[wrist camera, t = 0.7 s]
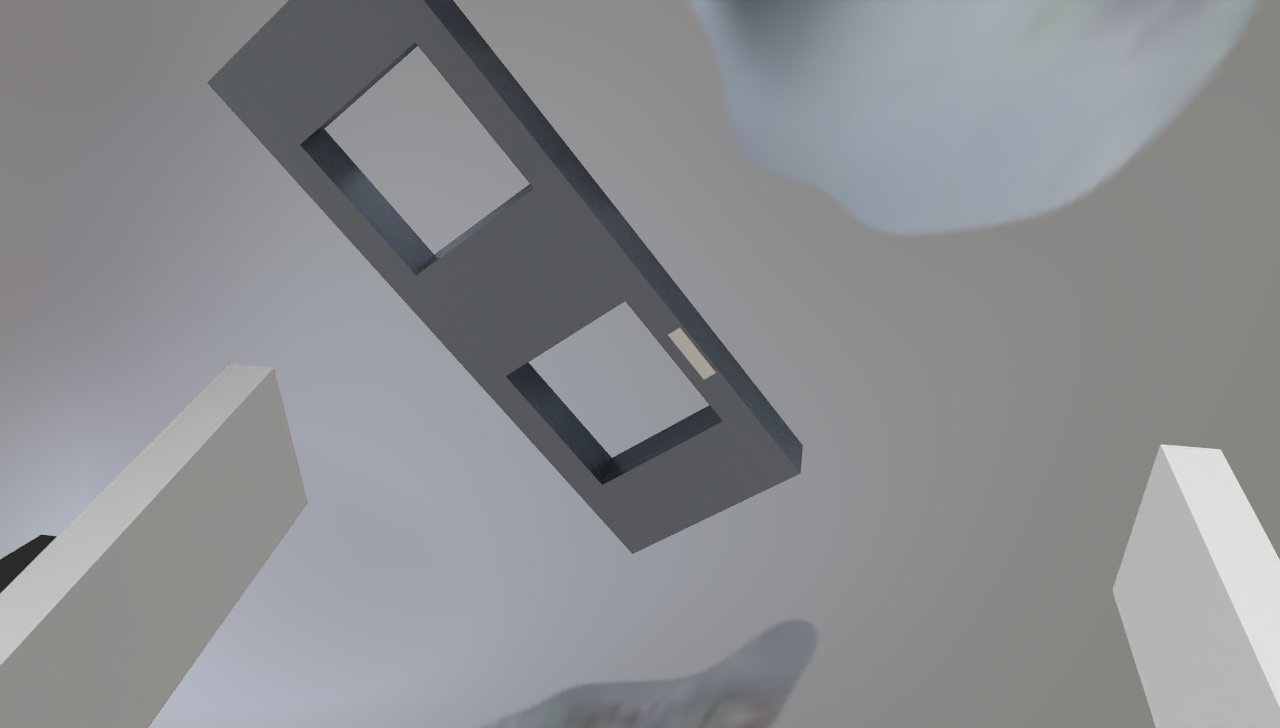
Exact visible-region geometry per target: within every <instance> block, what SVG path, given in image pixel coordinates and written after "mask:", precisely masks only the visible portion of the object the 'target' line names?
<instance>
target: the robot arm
mask: <svg viewBox="0 0 1280 728" xmlns="http://www.w3.org/2000/svg"><path fill="white" fill-rule="evenodd" d="M307 503H308V502H307V498H306V494H305V491H304V487H303V483H302V478H301V474H300V470H299V466H298V463H297V459H296V455H295V451H294V447H293V443H292V439H291V435H290V431H289V427H288V423H287V419H286V415H285V411H284V407H283V403H282V399H281V395H280V391H279V387H278V383H277V379H276V375H275V371H274V368H270V367H259V366H248V365H236V364H229V365H228V366H227V367H226V368H225V369H224V370H223V371H222V372H221V373H220V374H219V375H218V376H217V377H216V378H215V379H214V380H213V381H212V382H211V383H210V384H209V385H208V386H207V387H206V388H205V389H204V390H203V391H202V392H201V393H200V394H199V395H198V396H197V397H196V398H195V399H194V400H193V401H192V402H191V403H190V404H189V405H188V406H187V407H186V408H185V409H184V410H183V411H182V412H181V413H180V414H179V415H178V416H177V417H176V418H175V419H174V420H173V421H172V422H171V423H170V424H169V425H168V426H167V427H166V428H165V429H164V430H163V431H162V432H161V433H160V434H159V435H158V436H157V437H156V438H155V439H154V440H153V441H152V442H151V443H150V444H149V445H148V446H147V447H146V448H145V449H144V450H143V451H142V452H141V453H140V454H139V455H138V456H137V457H136V458H135V459H134V460H133V461H132V462H131V463H130V464H129V465H128V466H127V467H126V468H125V469H124V470H123V471H122V472H121V473H120V474H119V475H118V476H117V477H116V478H115V479H114V480H113V481H112V482H111V483H110V484H109V485H108V486H107V487H106V488H105V489H104V490H103V491H102V492H101V493H100V494H99V495H98V496H97V497H96V498H95V499H94V500H93V501H92V502H91V503H90V504H89V505H88V506H87V507H86V508H85V509H84V510H83V511H82V512H81V513H80V514H79V515H78V516H77V517H76V518H75V519H74V520H73V521H72V522H71V523H70V524H69V525H68V526H67V527H66V528H65V529H64V530H63V531H62V532H61V533H60V534H59V535H58V536H47V535H40V536H39V537H37V538H35V539H34V540H32V541H30V542H29V543H27V544H25V545H24V546H22V547H20V548H19V549H17V550H15V551H14V552H12V553H10V554H9V555H7V556H5V557H4V558H2V559H1V560H0V728H148V727H149V726H150V724H151V723H152V721H153V720H154V719H155V717H156V716H157V714H158V713H159V711H160V710H161V708H162V707H163V706H164V704H165V703H166V701H167V700H168V699H169V697H170V696H171V695H172V693H173V691H174V690H175V689H176V687H177V686H178V684H179V683H180V682H181V680H182V679H183V677H184V676H185V675H186V673H187V672H188V671H189V669H190V668H191V666H192V665H193V664H194V662H195V661H196V659H197V658H198V657H199V655H200V654H201V652H202V651H203V649H204V648H205V647H206V645H207V644H208V642H209V641H210V640H211V638H212V637H213V635H214V633H215V632H216V631H217V630H218V628H219V627H220V625H221V624H222V623H223V621H224V620H225V618H226V617H227V615H228V614H229V613H230V611H231V610H232V609H233V607H234V606H235V604H236V603H237V602H238V600H239V599H240V597H241V596H242V595H243V593H244V592H245V590H246V589H247V587H248V586H249V585H250V583H251V581H252V580H253V579H254V577H255V576H256V575H257V573H258V572H259V570H260V569H261V567H262V566H263V565H264V563H265V562H266V561H267V559H268V558H269V556H270V555H271V553H272V552H273V551H274V549H275V548H276V547H277V545H278V544H279V542H280V541H281V540H282V538H283V537H284V535H285V534H286V533H287V531H288V530H289V528H290V527H291V525H292V524H293V523H294V521H295V520H296V518H297V517H298V516H299V514H300V512H301V511H302V510H303V509H304V507H305V506H306V504H307ZM1112 591H1113V594H1114V597H1115V600H1116V603H1117V606H1118V610H1119V612H1120V616H1121V619H1122V622H1123V625H1124V628H1125V631H1126V635H1127V638H1128V641H1129V644H1130V647H1131V650H1132V653H1133V657H1134V660H1135V663H1136V666H1137V669H1138V673H1139V676H1140V679H1141V682H1142V685H1143V688H1144V691H1145V695H1146V698H1147V701H1148V704H1149V707H1150V710H1151V714H1152V717H1153V720H1154V723H1155V726H1156V728H1280V560H1279V558H1278V556H1277V554H1276V552H1275V550H1274V549H1273V547H1272V545H1271V543H1270V541H1269V539H1268V537H1267V535H1266V534H1265V532H1264V530H1263V528H1262V526H1261V524H1260V523H1259V520H1258V519H1257V517H1256V515H1255V513H1254V511H1253V509H1252V508H1251V506H1250V504H1249V502H1248V500H1247V498H1246V496H1245V494H1244V492H1243V491H1242V489H1241V487H1240V485H1239V483H1238V481H1237V480H1236V478H1235V476H1234V474H1233V472H1232V470H1231V468H1230V466H1229V465H1228V463H1227V461H1226V459H1225V457H1224V455H1223V453H1222V451H1221V450H1218V449H1207V448H1196V447H1184V446H1173V445H1172V446H1171V445H1160V448H1159V451H1158V454H1157V457H1156V460H1155V463H1154V466H1153V469H1152V472H1151V475H1150V478H1149V481H1148V484H1147V488H1146V490H1145V493H1144V496H1143V499H1142V503H1141V506H1140V509H1139V511H1138V514H1137V517H1136V520H1135V523H1134V526H1133V530H1132V533H1131V536H1130V539H1129V542H1128V545H1127V548H1126V551H1125V554H1124V557H1123V560H1122V563H1121V566H1120V569H1119V572H1118V575H1117V578H1116V581H1115V584H1114V587H1113V590H1112Z"/></svg>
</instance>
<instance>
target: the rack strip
mask: <svg viewBox="0 0 1280 728" xmlns="http://www.w3.org/2000/svg"><path fill="white" fill-rule="evenodd" d="M417 46H419V47H420V49H421V50H422V51H423V52H424V53H425V55H426V56H427V57H428V58H429V60H430V61H431V62H432V63H433V65H434V66H435V67H436V68H437V69H438V71H439V72H440V73H441V74H442V76H443V77H444V78H445V79H446V81H447V82H448V83H449V84H450V86H451V87H452V88H453V89H454V91H455V92H456V93H457V94H458V95H459V97H460V98H461V99H462V100H463V102H464V103H465V104H466V105H467V106H468V108H469V109H470V110H471V111H472V113H473V114H474V115H475V116H476V118H477V119H478V120H479V121H480V123H481V124H482V125H483V126H484V127H485V129H486V130H487V131H488V132H489V134H490V135H491V136H492V137H493V139H494V140H495V141H496V142H497V143H498V145H499V146H500V147H501V148H502V150H503V151H504V152H505V153H506V154H507V156H508V157H509V158H510V159H511V161H512V162H513V163H514V164H515V166H516V167H517V168H518V169H519V171H520V172H521V173H522V174H523V176H524V177H525V178H526V179H527V180H528V182H529V183H530V184H529V185H528V186H527V187H525V188H524V189H523V190H521V191H520V192H519V193H517V194H516V195H515V196H514V197H512V198H511V199H510V200H508V201H507V202H505V203H504V204H502V205H501V206H500V207H498V208H497V209H496V210H494V211H493V212H492V213H490V214H489V215H488V216H487V217H485V218H484V219H482V220H481V221H479V222H478V223H477V224H475V225H474V226H473V227H471V228H470V229H469V230H467V231H466V232H465V233H463V234H462V235H461V236H459V237H458V238H457V239H455V240H454V241H452V242H451V243H450V244H448V245H447V246H446V247H444V248H443V249H442V250H440V251H439V252H438V253H436V254H435V255H434V254H433V253H432V252H431V251H430V250H429V248H428V247H427V246H426V245H425V244H424V243H423V242H422V240H421V239H420V238H419V237H418V236H417V235H416V233H415V232H414V231H413V230H412V229H411V228H410V227H409V225H408V224H407V223H406V222H405V221H404V220H403V219H402V217H401V216H400V215H399V214H398V213H397V212H396V211H395V209H394V208H393V207H392V206H391V205H390V204H389V203H388V202H387V200H386V199H384V197H383V196H382V195H381V194H380V192H379V191H378V190H377V189H376V188H375V187H374V186H373V184H372V183H371V182H370V181H369V180H368V179H367V178H366V176H365V175H364V174H363V173H362V172H361V171H360V170H359V168H358V167H357V166H356V165H355V164H354V163H353V161H352V160H351V159H350V158H349V157H348V156H347V155H346V153H345V152H344V151H343V150H342V149H341V148H340V147H339V146H338V144H337V143H336V142H335V141H334V140H333V139H332V137H331V136H330V135H329V134H328V133H327V132H326V131H325V129H324V128H326V127H327V126H328V125H329V124H330V123H331V122H332V121H333V120H335V119H336V118H337V117H338V116H339V115H340V114H341V113H342V112H344V111H345V110H346V109H347V108H348V107H349V106H350V105H351V104H352V103H354V102H355V101H356V100H357V99H358V98H359V97H360V96H362V95H363V94H364V93H365V92H366V91H367V90H368V89H369V88H370V87H372V86H373V85H374V84H375V83H376V82H377V81H378V80H380V79H381V78H382V77H383V76H384V75H385V74H386V73H387V72H389V71H390V70H391V69H392V68H393V67H394V66H395V65H396V64H398V63H399V62H400V61H401V60H402V59H403V58H404V57H405V56H407V55H408V54H409V53H410V52H411V51H412V50H413V49H414V48H415V47H417ZM208 84H209V85H210V86H211V87H212V88H213V90H214V91H215V92H216V93H217V94H218V95H219V96H220V97H221V98H222V100H223V101H224V102H225V103H226V104H227V105H228V106H229V107H230V108H231V109H232V111H233V112H234V113H235V114H236V115H237V116H238V117H239V118H240V119H241V121H242V122H243V123H244V124H245V125H246V126H247V127H248V128H249V129H250V130H251V132H252V133H253V134H254V135H255V136H256V137H257V138H258V139H259V140H260V141H261V143H262V144H263V145H264V146H265V147H266V148H267V149H268V150H269V152H270V153H271V154H272V155H273V156H274V157H275V158H276V159H277V160H278V162H279V163H280V164H281V165H282V166H283V167H284V168H285V169H286V170H287V171H288V173H289V174H290V175H291V176H292V177H293V178H294V179H295V180H296V181H297V183H298V184H299V185H300V186H301V187H302V188H303V189H304V190H305V191H306V193H307V194H308V195H309V196H310V197H311V198H312V199H313V200H314V201H315V203H317V205H318V206H319V207H320V208H321V209H322V210H323V211H324V212H325V214H326V215H327V216H328V217H329V218H330V219H331V220H332V221H333V222H334V224H336V226H337V227H338V228H339V229H340V230H341V231H342V232H343V234H344V235H345V236H346V237H347V238H348V239H349V240H350V241H351V242H352V244H353V245H354V246H355V247H356V248H357V249H358V250H359V251H360V252H361V253H362V255H363V256H364V257H365V258H366V259H367V260H368V261H369V262H370V263H371V264H372V266H373V267H374V268H375V269H376V270H377V271H378V272H379V273H380V274H381V276H382V277H383V278H384V279H385V280H386V281H387V282H388V283H389V284H390V285H391V287H392V288H393V289H394V290H395V291H396V292H397V293H398V294H399V296H400V297H401V298H402V299H403V300H404V301H405V302H406V303H407V304H408V306H409V307H410V308H411V309H412V310H413V311H414V312H415V313H416V314H417V315H418V317H419V318H420V319H421V320H422V321H423V322H424V323H425V324H426V325H427V327H428V328H429V329H430V330H431V331H432V332H433V333H434V334H435V335H436V337H437V338H438V339H439V340H440V341H441V342H442V343H443V344H444V345H445V347H446V348H447V349H448V350H449V351H450V352H451V353H452V354H453V355H454V356H455V358H456V359H457V360H458V361H459V362H460V363H461V364H462V365H463V366H464V367H465V368H466V370H467V371H468V372H469V373H470V374H471V375H472V376H473V377H474V379H475V380H476V381H477V382H478V383H479V384H480V385H481V386H482V387H483V389H484V390H485V391H486V392H487V393H488V394H489V395H490V396H491V397H492V399H494V401H495V402H496V403H497V404H498V405H499V406H500V407H501V408H502V409H503V411H504V412H505V413H506V414H507V415H508V416H509V417H510V418H511V420H512V421H513V422H514V423H515V424H516V425H517V426H518V427H519V428H520V430H521V431H522V432H523V433H524V434H525V435H526V436H527V437H528V438H529V440H530V441H531V442H532V443H533V444H534V445H535V446H536V447H537V448H538V450H539V451H540V452H541V453H542V454H543V455H544V456H545V457H546V458H547V459H548V460H549V462H550V463H551V464H552V465H553V466H554V467H555V468H556V469H557V471H558V472H559V473H560V474H561V475H562V476H563V477H564V478H565V479H566V481H567V482H568V483H569V484H570V485H571V486H572V487H573V488H574V489H575V490H576V492H577V493H578V494H579V495H580V496H581V497H582V498H583V499H584V500H585V502H587V504H588V505H589V506H590V507H591V508H592V509H593V510H594V511H595V513H596V514H597V515H598V516H599V517H600V518H601V519H602V520H603V521H604V523H605V524H606V525H607V526H608V527H609V528H610V529H611V530H612V531H613V532H614V533H615V535H616V536H617V537H618V538H619V539H620V540H621V541H622V543H623V544H624V545H625V546H626V547H627V548H628V549H629V550H630V551H631V552H632V553H635V552H637V551H639V550H641V549H643V548H645V547H648V546H650V545H652V544H654V543H656V542H658V541H660V540H662V539H664V538H666V537H668V536H671V535H673V534H675V533H677V532H679V531H681V530H683V529H685V528H687V527H689V526H691V525H694V524H696V523H698V522H700V521H702V520H704V519H706V518H708V517H710V516H712V515H714V514H716V513H718V512H721V511H723V510H725V509H727V508H729V507H731V506H733V505H735V504H737V503H739V502H742V501H744V500H746V499H748V498H750V497H752V496H754V495H756V494H758V493H760V492H762V491H765V490H767V489H769V488H771V487H773V486H775V485H777V484H779V483H781V482H783V481H785V480H787V479H790V478H792V477H794V476H796V475H798V474H800V471H801V458H802V444H801V443H800V442H799V440H798V439H797V438H796V436H795V435H794V434H793V433H792V431H791V430H790V429H789V428H788V426H787V425H786V424H785V422H784V421H783V420H782V419H781V417H780V416H779V415H778V414H777V412H776V411H775V410H774V408H773V407H772V406H771V405H770V403H769V402H768V401H767V399H766V398H765V397H764V396H763V394H762V393H761V392H760V391H759V389H758V388H757V387H756V385H755V384H754V383H753V382H752V380H751V379H750V378H749V377H748V375H747V374H746V373H745V372H744V370H743V369H742V368H741V366H740V365H739V364H738V363H737V361H736V360H735V359H734V358H733V356H732V355H731V354H730V353H729V351H728V350H727V349H726V347H725V346H724V345H723V343H722V342H721V341H720V340H719V338H718V337H717V336H716V335H715V333H714V332H713V331H712V330H711V328H710V327H709V326H708V325H707V323H706V322H705V321H704V319H703V318H702V317H701V316H700V314H699V313H698V312H697V310H696V309H695V308H694V307H693V305H692V304H691V303H690V301H689V300H688V299H687V298H686V296H685V295H684V294H683V293H682V291H681V290H680V289H679V288H678V286H677V285H676V284H675V282H674V281H673V280H672V279H671V277H670V276H669V275H668V273H667V272H666V271H665V270H664V268H663V267H662V266H661V265H660V263H659V262H658V261H657V259H656V258H655V257H654V256H653V254H652V253H651V252H650V250H649V249H648V248H647V247H646V245H645V244H644V243H643V242H642V240H641V239H640V238H639V236H638V235H637V234H636V233H635V231H634V230H633V229H632V228H631V226H630V225H629V224H628V223H627V221H626V220H625V219H624V218H623V216H622V215H621V214H620V212H619V211H618V210H617V208H616V207H615V206H614V205H613V203H612V202H611V201H610V200H609V198H608V197H607V196H606V195H605V193H604V192H603V191H602V189H601V188H600V187H599V186H598V184H597V183H596V182H595V180H594V179H593V178H592V177H591V175H590V174H589V173H588V172H587V170H586V169H585V168H584V166H583V165H582V164H581V163H580V161H579V160H578V159H577V158H576V156H575V155H574V154H573V152H572V151H571V150H570V149H569V147H568V146H567V145H566V144H565V142H564V141H563V140H562V139H561V137H560V136H559V135H558V133H557V132H556V131H555V130H554V128H553V127H552V126H551V125H550V123H549V122H548V121H547V119H546V118H545V117H544V116H543V114H542V113H541V112H540V111H539V109H538V108H537V107H536V105H535V104H534V103H533V102H532V100H531V99H530V98H529V97H528V95H527V94H526V93H525V91H524V90H523V89H522V88H521V86H520V85H519V84H518V83H517V81H516V80H515V79H514V77H513V76H512V75H511V74H510V73H509V71H508V70H507V68H506V67H505V66H504V65H503V64H502V62H501V61H500V60H499V59H498V57H497V56H496V55H495V53H494V52H493V51H492V49H491V48H490V47H489V46H488V44H487V43H486V42H485V40H484V39H483V38H482V37H481V35H480V34H479V33H478V32H477V30H476V29H475V28H474V26H473V25H472V24H471V23H470V21H469V20H468V19H467V18H466V16H465V15H464V14H463V12H462V11H461V10H460V9H459V7H458V6H457V5H456V4H455V2H454V1H453V0H289V1H288V2H287V3H286V4H285V5H284V6H283V7H282V8H281V9H280V10H279V11H278V12H277V13H276V14H275V15H274V16H273V17H272V18H271V19H270V20H269V21H268V22H267V23H266V24H265V25H264V26H263V27H262V28H261V29H260V30H259V31H258V32H257V33H256V34H255V35H254V36H253V38H251V40H249V41H248V42H247V43H246V45H244V46H243V47H242V49H240V50H239V51H238V53H236V54H235V55H234V56H233V57H232V58H231V59H230V60H229V62H228V63H227V64H226V65H225V66H224V67H223V68H222V69H221V70H220V71H219V72H218V73H217V74H216V75H215V76H214V77H213V78H212V79H211V80H210V81H209V82H208ZM624 301H626V302H627V304H628V305H629V306H630V307H631V309H632V310H633V311H634V312H635V313H636V315H637V316H638V317H639V318H640V320H641V321H642V322H643V323H644V324H645V326H646V327H647V328H648V329H649V331H650V332H651V333H652V334H653V336H654V337H655V338H656V339H657V340H658V342H659V343H660V344H661V346H662V347H663V348H664V349H665V350H666V352H667V353H668V354H669V355H670V357H671V358H672V359H673V360H674V362H675V363H676V364H677V365H678V366H679V368H680V369H681V370H682V371H683V373H684V374H685V375H686V376H687V378H688V379H689V380H690V381H691V382H692V384H693V385H694V386H695V387H696V388H697V390H698V391H699V392H700V393H701V395H702V396H703V397H704V398H705V400H706V401H707V402H708V403H709V406H708V407H706V408H704V409H702V410H700V411H698V412H696V413H694V414H693V415H691V416H689V417H687V418H685V419H684V420H682V421H680V422H678V423H676V424H674V425H672V426H671V427H669V428H667V429H665V430H663V431H661V432H660V433H658V434H656V435H654V436H652V437H650V438H648V439H646V440H645V441H643V442H641V443H639V444H638V445H635V446H634V447H632V448H630V449H628V450H626V451H624V452H623V453H621V454H619V455H617V456H615V457H613V458H611V457H610V455H609V454H608V453H607V452H606V451H605V450H604V449H603V447H602V446H601V445H600V444H599V443H598V442H597V441H596V439H595V438H594V437H593V436H592V435H591V434H590V433H589V431H588V430H587V429H586V428H585V427H584V426H583V425H582V424H581V422H580V421H579V420H578V419H577V418H576V417H575V415H574V414H573V413H572V412H571V411H570V410H569V409H568V407H567V406H566V405H565V404H564V403H563V402H562V401H561V399H560V398H559V397H558V396H557V395H556V394H555V393H554V391H553V390H552V389H551V388H550V387H549V386H548V385H547V383H546V382H545V381H544V380H543V379H542V378H541V377H540V375H539V374H538V373H537V372H536V371H535V370H534V369H533V367H532V366H531V365H530V364H529V363H528V362H529V361H531V360H532V359H534V358H535V357H537V356H539V355H540V354H542V353H543V352H545V351H546V350H548V349H549V348H551V347H553V346H554V345H556V344H558V343H559V342H561V341H562V340H564V339H566V338H567V337H569V336H570V335H572V334H573V333H575V332H577V331H578V330H580V329H581V328H583V327H584V326H586V325H588V324H589V323H591V322H592V321H594V320H596V319H597V318H599V317H600V316H602V315H604V314H605V313H607V312H608V311H610V310H612V309H613V308H615V307H616V306H618V305H620V304H621V303H623V302H624Z"/></svg>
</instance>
